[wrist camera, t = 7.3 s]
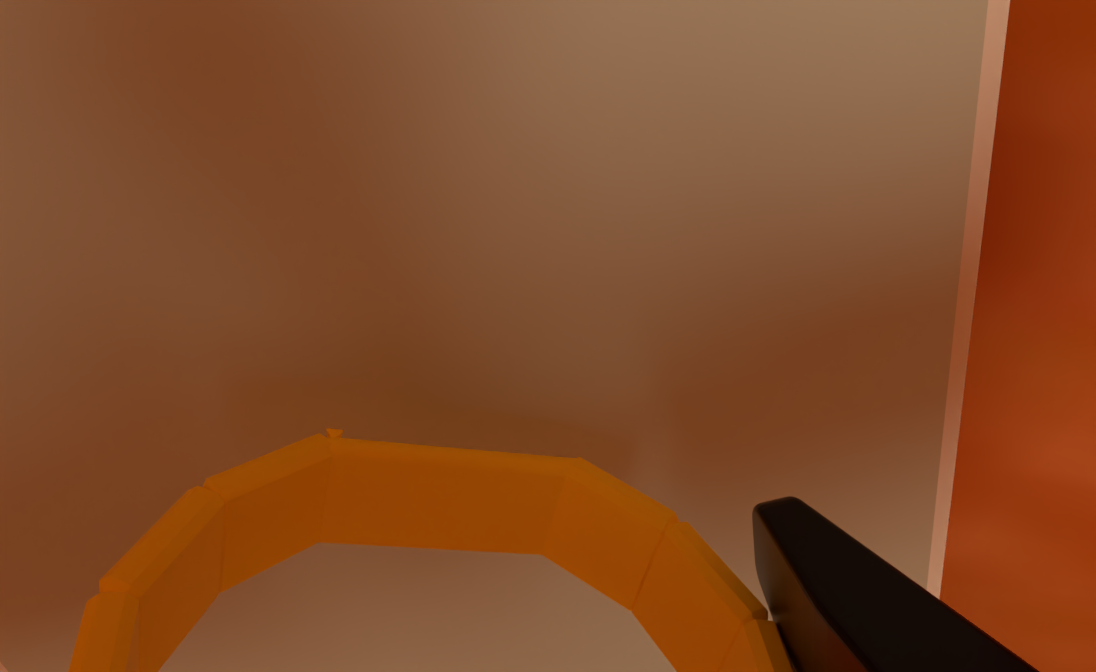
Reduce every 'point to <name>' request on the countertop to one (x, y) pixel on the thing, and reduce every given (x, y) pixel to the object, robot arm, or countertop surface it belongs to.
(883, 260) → the stand
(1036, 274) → the countertop surface
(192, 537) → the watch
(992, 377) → the countertop surface
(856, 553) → the robot arm
